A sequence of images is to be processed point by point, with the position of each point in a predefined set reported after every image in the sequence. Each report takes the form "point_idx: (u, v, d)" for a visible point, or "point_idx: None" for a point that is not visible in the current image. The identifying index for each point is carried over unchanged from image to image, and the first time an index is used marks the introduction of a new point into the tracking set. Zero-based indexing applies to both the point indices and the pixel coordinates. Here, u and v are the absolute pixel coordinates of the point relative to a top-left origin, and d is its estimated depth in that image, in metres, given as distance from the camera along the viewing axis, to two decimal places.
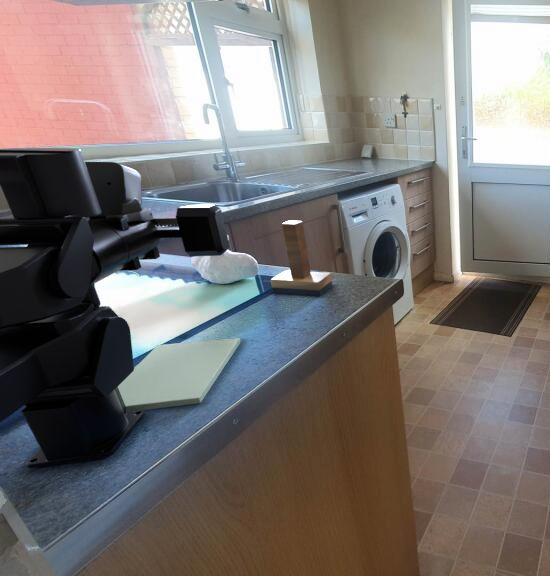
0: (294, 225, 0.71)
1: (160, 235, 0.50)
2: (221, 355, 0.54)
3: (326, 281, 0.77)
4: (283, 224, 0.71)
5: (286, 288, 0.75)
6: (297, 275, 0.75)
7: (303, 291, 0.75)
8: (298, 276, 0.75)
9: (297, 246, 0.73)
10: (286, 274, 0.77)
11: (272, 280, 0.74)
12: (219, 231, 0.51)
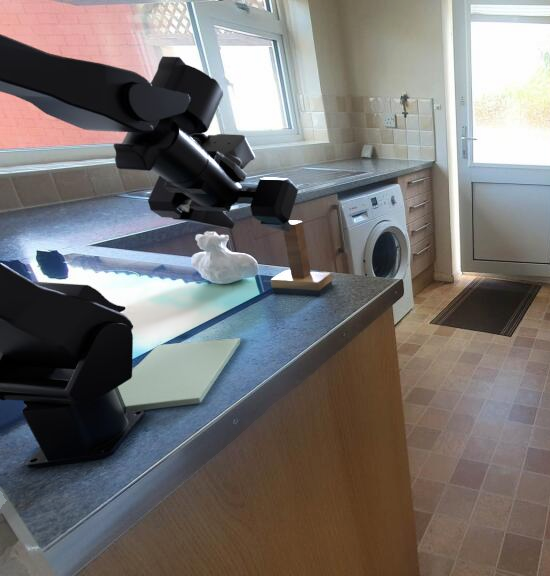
0: (294, 225, 0.71)
1: (240, 195, 0.55)
2: (221, 355, 0.54)
3: (326, 281, 0.77)
4: None
5: (286, 288, 0.75)
6: (297, 275, 0.75)
7: (303, 291, 0.75)
8: (298, 276, 0.75)
9: (297, 246, 0.73)
10: (286, 274, 0.77)
11: (272, 280, 0.74)
12: (286, 196, 0.55)
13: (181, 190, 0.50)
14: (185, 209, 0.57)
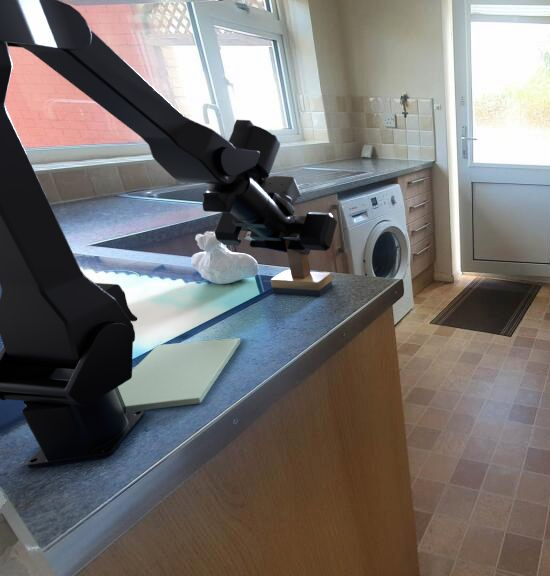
0: None
1: (290, 227, 0.67)
2: (221, 355, 0.54)
3: (326, 281, 0.77)
4: None
5: (286, 288, 0.75)
6: (297, 275, 0.75)
7: (303, 291, 0.75)
8: (298, 276, 0.75)
9: None
10: (286, 274, 0.77)
11: (272, 280, 0.74)
12: (328, 228, 0.67)
13: (246, 225, 0.62)
14: (262, 239, 0.68)
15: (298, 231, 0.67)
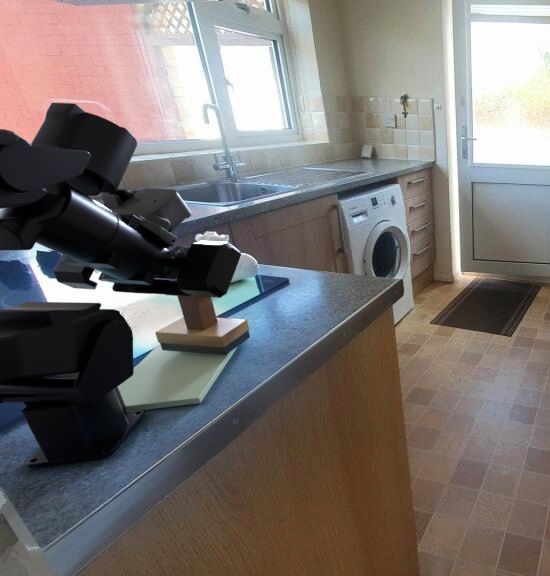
0: None
1: (167, 263, 0.45)
2: (221, 355, 0.54)
3: (238, 332, 0.55)
4: None
5: (178, 343, 0.53)
6: (194, 326, 0.53)
7: (202, 348, 0.53)
8: (196, 327, 0.53)
9: None
10: (183, 322, 0.55)
11: (158, 333, 0.53)
12: (223, 265, 0.45)
13: (85, 264, 0.40)
14: None
15: (180, 269, 0.46)
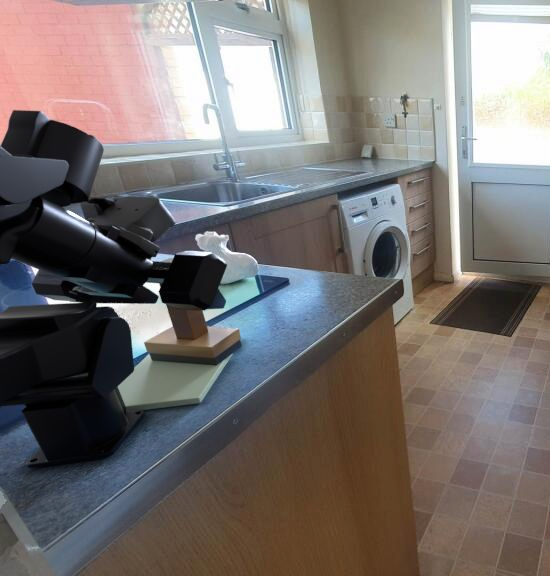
0: None
1: (149, 275, 0.44)
2: None
3: (229, 342, 0.54)
4: None
5: (168, 354, 0.52)
6: (184, 335, 0.52)
7: (192, 359, 0.52)
8: (185, 337, 0.52)
9: None
10: (173, 331, 0.54)
11: (147, 343, 0.52)
12: (207, 277, 0.44)
13: (61, 278, 0.39)
14: None
15: None
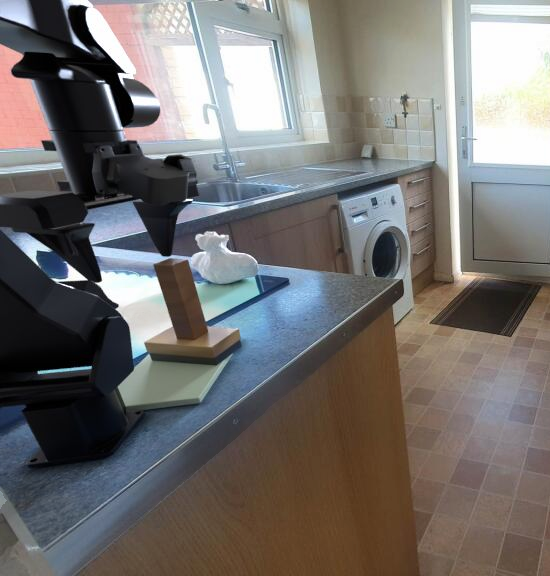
0: (171, 267, 0.49)
1: (77, 193, 0.43)
2: None
3: (229, 342, 0.54)
4: (155, 265, 0.49)
5: (168, 354, 0.52)
6: (184, 335, 0.52)
7: (192, 359, 0.52)
8: (185, 337, 0.52)
9: (178, 297, 0.50)
10: (173, 331, 0.54)
11: (147, 343, 0.52)
12: (9, 207, 0.37)
13: None
14: None
15: None
